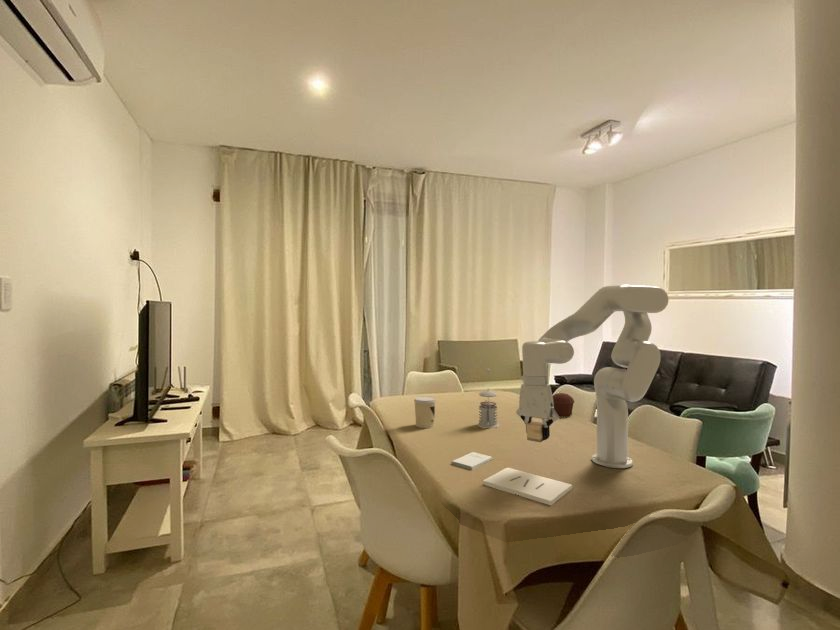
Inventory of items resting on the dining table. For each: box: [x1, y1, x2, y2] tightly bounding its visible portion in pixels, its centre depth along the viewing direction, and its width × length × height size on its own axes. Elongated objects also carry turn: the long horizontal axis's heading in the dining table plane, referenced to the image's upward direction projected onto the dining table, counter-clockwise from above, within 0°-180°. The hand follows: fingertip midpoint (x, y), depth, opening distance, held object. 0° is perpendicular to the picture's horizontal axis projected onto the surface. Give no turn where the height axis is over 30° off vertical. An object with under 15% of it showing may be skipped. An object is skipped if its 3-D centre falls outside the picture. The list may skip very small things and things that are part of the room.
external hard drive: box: [450, 451, 493, 471], centre depth 148 cm, size 2×8×12 cm
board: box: [482, 467, 573, 506], centre depth 128 cm, size 14×21×1 cm, turn 49°
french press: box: [476, 368, 500, 429], centre depth 193 cm, size 10×12×25 cm
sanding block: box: [525, 419, 545, 443], centre depth 140 cm, size 6×4×5 cm
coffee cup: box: [413, 396, 437, 429], centre depth 194 cm, size 9×9×12 cm
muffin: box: [552, 392, 576, 417], centre depth 214 cm, size 12×11×10 cm
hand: (538, 437), depth 140 cm, fingers closed on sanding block, 4 cm apart
